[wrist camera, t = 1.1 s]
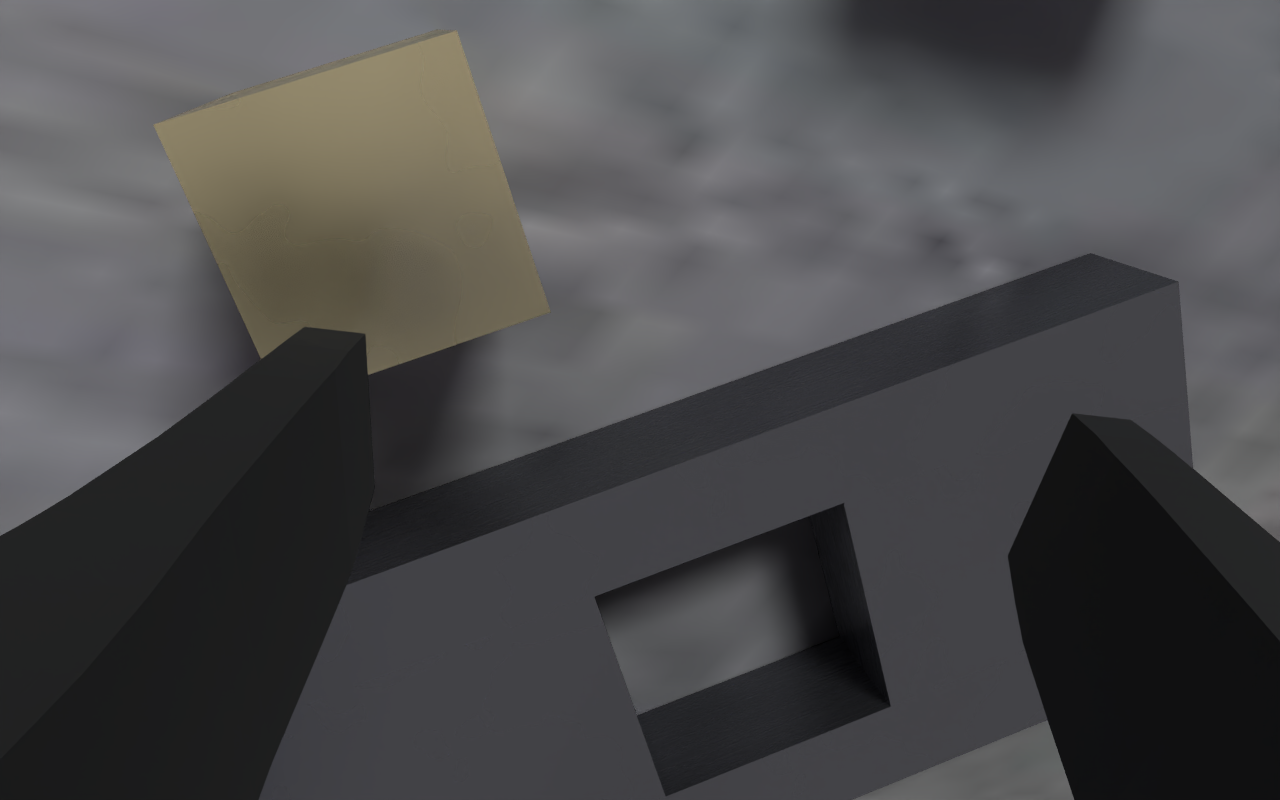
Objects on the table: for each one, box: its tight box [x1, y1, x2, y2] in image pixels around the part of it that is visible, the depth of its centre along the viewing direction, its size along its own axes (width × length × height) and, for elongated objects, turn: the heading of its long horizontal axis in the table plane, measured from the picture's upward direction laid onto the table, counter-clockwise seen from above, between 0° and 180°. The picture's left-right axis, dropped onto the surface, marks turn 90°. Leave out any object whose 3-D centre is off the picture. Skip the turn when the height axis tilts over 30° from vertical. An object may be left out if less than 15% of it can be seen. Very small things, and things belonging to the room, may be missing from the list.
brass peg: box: [154, 30, 550, 375], centre depth 17 cm, size 4×4×7 cm
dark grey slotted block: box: [259, 253, 1193, 800], centre depth 24 cm, size 22×10×3 cm, turn 106°
